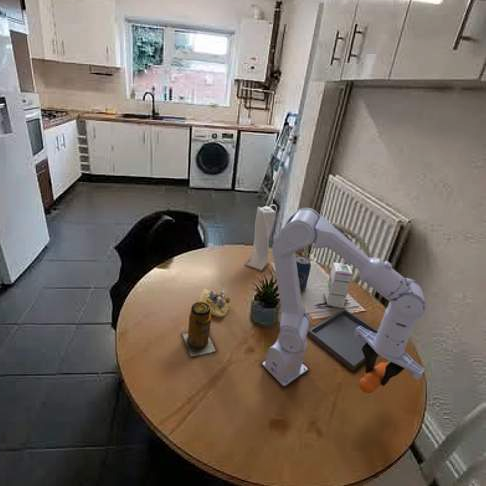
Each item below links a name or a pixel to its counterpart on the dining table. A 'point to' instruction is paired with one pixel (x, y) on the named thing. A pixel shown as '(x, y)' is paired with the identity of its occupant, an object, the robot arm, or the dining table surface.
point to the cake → (216, 301)
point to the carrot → (373, 378)
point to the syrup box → (338, 285)
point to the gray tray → (342, 337)
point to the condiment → (199, 330)
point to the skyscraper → (262, 237)
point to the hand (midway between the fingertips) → (376, 377)
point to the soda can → (303, 270)
